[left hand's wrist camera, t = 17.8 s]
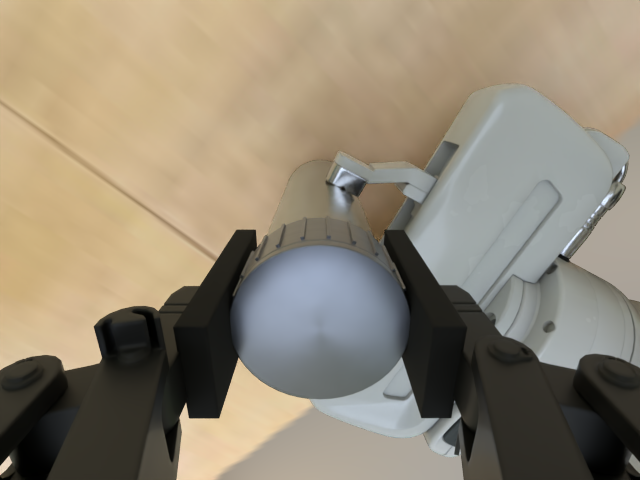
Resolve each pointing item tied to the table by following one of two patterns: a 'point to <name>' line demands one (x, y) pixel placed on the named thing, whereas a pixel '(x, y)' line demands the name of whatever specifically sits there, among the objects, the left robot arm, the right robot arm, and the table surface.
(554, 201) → the right robot arm
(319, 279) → the lid
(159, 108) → the table surface
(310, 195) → the metal thermos flask
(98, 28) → the table surface
